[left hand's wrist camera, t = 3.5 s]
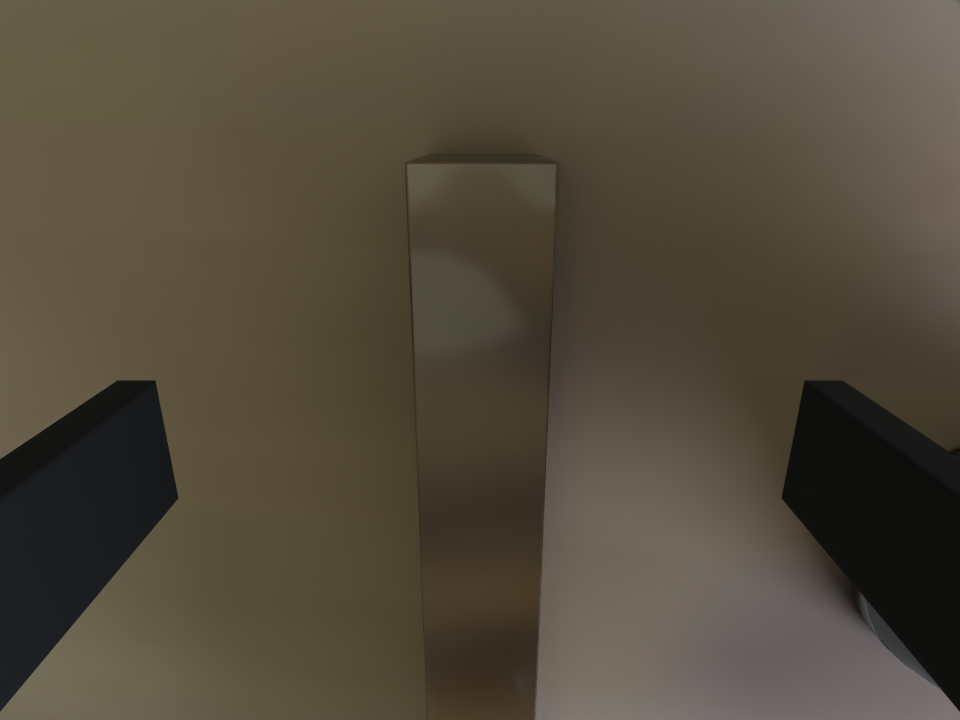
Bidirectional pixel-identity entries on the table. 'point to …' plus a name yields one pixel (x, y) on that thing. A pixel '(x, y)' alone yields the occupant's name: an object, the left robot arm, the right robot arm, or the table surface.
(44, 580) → the left robot arm
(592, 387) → the table surface
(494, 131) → the table surface
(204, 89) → the table surface
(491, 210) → the block
